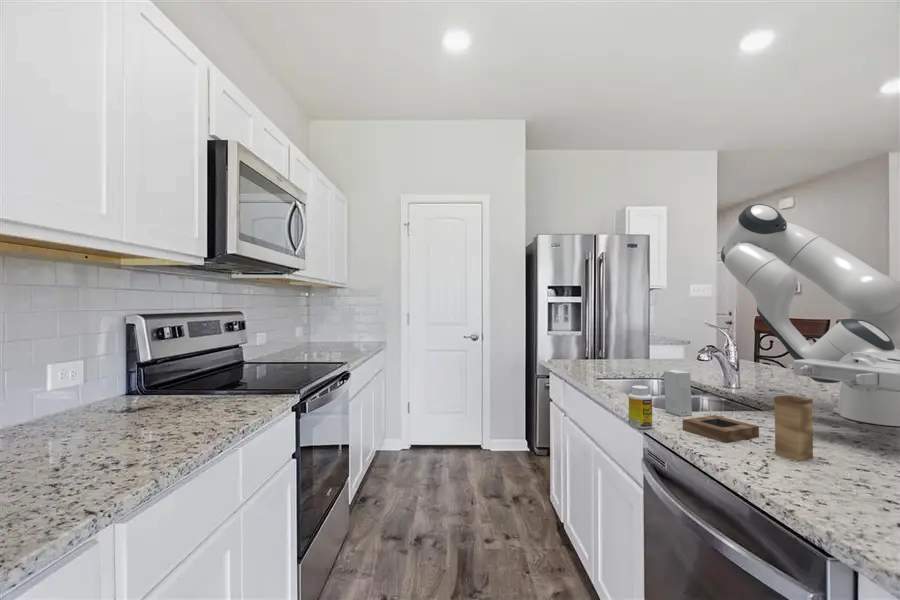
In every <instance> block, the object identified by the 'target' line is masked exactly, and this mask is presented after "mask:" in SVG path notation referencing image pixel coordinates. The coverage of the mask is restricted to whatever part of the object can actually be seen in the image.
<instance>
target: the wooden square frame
mask: <svg viewBox="0 0 900 600" xmlns="http://www.w3.org/2000/svg"><path fill="white" fill-rule="evenodd" d="M682 431H686V432H688V433H692V434H695V435H698V436H702V437H706V438H709V439H712V440H715V441H718V442H721V443H732V442H734V443H735V442H737V441H738V442H739V441H745V440H750V439H754V438H759V437H760V426H759V425H756V424H751V423H747V422H743V421H739V420H736V419H731V418H728V417H727V418H726V417H724V416H719V415H715V414H714V415H705V416H699V417H694V418H693V417H692V418H691V417H690V418H686V419H684V418H683V419H682Z"/></svg>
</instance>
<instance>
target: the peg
mask: <svg viewBox="0 0 900 600" xmlns="http://www.w3.org/2000/svg"><path fill="white" fill-rule="evenodd" d="M813 399H814V398H808V397H803V396H797V395H792V394H786V395H785V394H783V395H778V396H774V397H773V400H774V444H775V445H774V449H775V450H774V451H775V452H774V454H775V455H777V456H780V457H782V458H786V459H790V460H794V461H797V462H801V461H806V460H811V459H814V438H813V434H814V432H813V431H814V429H813V428H814V424H813V421H814V420H813V403H814V400H813Z"/></svg>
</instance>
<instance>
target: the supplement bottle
mask: <svg viewBox="0 0 900 600" xmlns="http://www.w3.org/2000/svg"><path fill="white" fill-rule="evenodd" d="M649 393H650V389H649V387H648V385H647V386H646V385H632V386H631V393H629V394H628V424H629V426H630V427H631V428H634V429H639V430H648V429H649V430H650V429H651V428H653V396H652V394H649Z"/></svg>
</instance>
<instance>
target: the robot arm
mask: <svg viewBox="0 0 900 600" xmlns="http://www.w3.org/2000/svg"><path fill="white" fill-rule="evenodd" d="M720 258H721V259H720V260H721V261H722V263H723V264H724V266H725V268H726V269H727V271H728V272H729V273H730V274H731V275H732V276H733V277H734V278H735V280H737V281H738V282H739V283H740V284H741V285H742V286H743V287H744V288H745V289H747V290H748V291H749V292H750V293H751V294H752V296H753V298H754V300H755V302H756V305H757V306H756V312H757V314H758V315H759V317H760V318H761V320H762V321H763V322H764V324H765V325H766V326H767V327H768V328H769V330H770V331H771V332H772V333H773V334H774V336H775V337H776V338H777V339H778V340H779V342H780V343H781V344H782V345H783V346H784V347H785V349H786V350H787V351H788V352H789V353H790V354H791V355H792V357H793V358H794V360H793V363H792V371H793V374H794V375H796V376H801V377H808V378H809V379H811V380H813V381H815V382H818V383H822V384H823V383H824V384H837V383H840V382H842V383H841V384H840V386H839V393H838V394H839V395H838V397H839V398H838V406H837V407H834V408H833V410H832V411H833V413H836V414H838V415H839V416H841V417H842V418H845V419H849V420H852V421H857V422H861V423H866V424H873V425H879V426H881V425H882V426H887V427H888V426H890V427H900V280H899V279H897V278H896V277H893V276H890V275H886V274H884V273H881V272H880V271H878V270H877V269H875V268H874V267H871V266H870V265H868V264H867V263H865V262H864V261H862V260H860V259H859V258H858V257H856V256H855V255H853V254H852V253H850V252H848V251H847V250H846V249H843V248H841V247H839V246H838V245H836V244H835V243H833V242H831V241H830V240H828V239H826V238H824V237H823V236H821V235H819V234H818V233H815V232H814V231H811V230H809V229H807V228H805V227H804V226H803V227H802V226H800V225H798V224H795V223H792V222H787V221H786V219H785V218H784V217H783V215H782V214H781V213H780V212H779V211H778V210H777V208H775V207H773V206H771V205H767V204H763V203H758V204H757V203H755V204H750V205H748V206H747V207H745V208H744V209H743V210H742V211H741V213H740V214H739V216H738V218H737V220H736V221H735V223H734V224H733V225H732V227H731V229H730V230H729V233H728V236H727V238H726V241H725V243H724V245H723V247H722V249H721V252H720ZM795 271H796V272H797V273H799V274H801V275H802V276H804V277H805V278H806V279H808V280H809V281H811V282H812V283H814V284H816V285H817V286H818V287H819V288H820V289H821V290H823V291H824V292H826V293H827V295H830V296H831V297H832V298H833V299H835V300H836V301H837V302H839V303H840V304H842V305H843V306H845V307H846V308H847V309H848V310H850V317H849V318H844V319H843V318H842V319H841V320H840V321H838V322H837V323H835V325H833V326H832V327H831V328H830V329H829V330H827V331H826V333H824V335H822V336H821V337H820V338H819V339H818V340H817V341H815V342H814V343H813V344H811V343H810V342H809V341H808V340H807V339H806V338H805V336H803V335H802V334H801V332H800V331H799V330H798V329H797V328H796V327H795V326H794V324H793V323H792V321H791V320H790V317H789V311H790V306H791V305H792V302H793V299H794V296H795V294H796V291H797V287H798V279H797V278H798V277H797V275H796V273H795Z"/></svg>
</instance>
